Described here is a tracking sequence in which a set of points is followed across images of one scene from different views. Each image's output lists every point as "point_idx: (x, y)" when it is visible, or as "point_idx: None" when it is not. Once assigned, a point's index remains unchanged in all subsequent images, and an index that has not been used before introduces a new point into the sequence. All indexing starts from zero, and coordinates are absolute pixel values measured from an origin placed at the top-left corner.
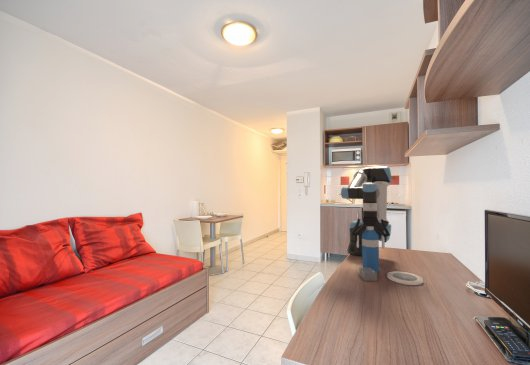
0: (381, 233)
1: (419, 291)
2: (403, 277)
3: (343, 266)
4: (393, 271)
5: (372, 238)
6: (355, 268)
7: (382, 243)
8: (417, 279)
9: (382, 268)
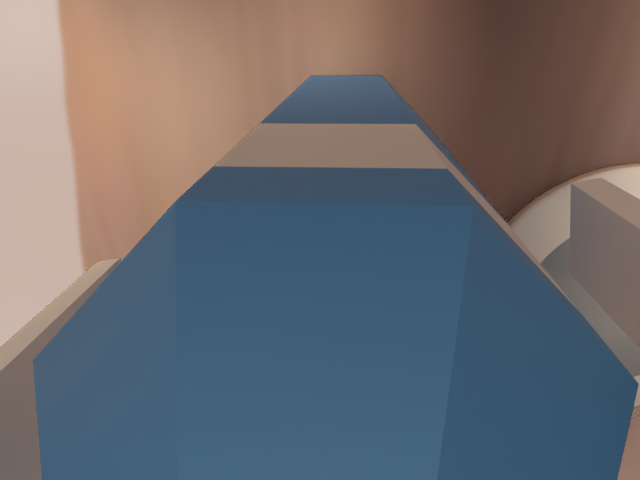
0: None
1: (620, 465)
2: (601, 327)
3: (80, 146)
4: (562, 196)
5: None
6: (200, 165)
7: (621, 274)
8: None
9: (474, 45)
